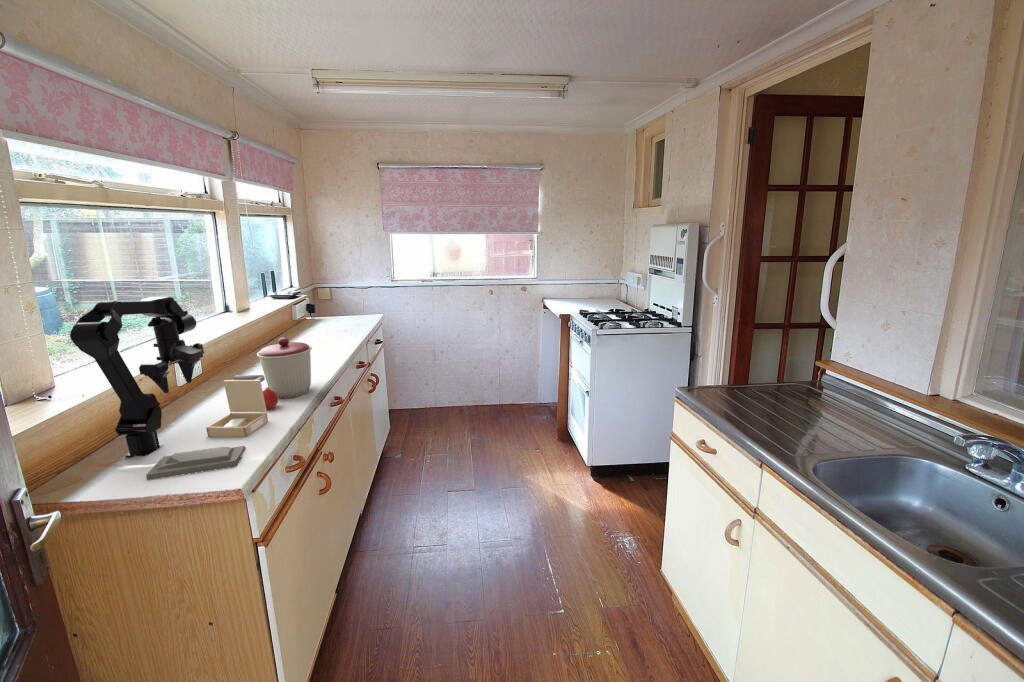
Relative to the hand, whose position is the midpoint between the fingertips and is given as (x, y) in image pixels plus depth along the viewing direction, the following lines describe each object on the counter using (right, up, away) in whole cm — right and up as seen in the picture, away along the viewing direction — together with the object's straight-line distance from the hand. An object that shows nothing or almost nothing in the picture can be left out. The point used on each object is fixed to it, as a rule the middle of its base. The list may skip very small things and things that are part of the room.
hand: (178, 387), depth 149 cm
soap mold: (+21, -19, -22) cm, 36 cm away
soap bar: (+19, -12, -2) cm, 23 cm away
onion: (+22, -9, +14) cm, 27 cm away
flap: (+20, -3, 0) cm, 20 cm away
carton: (+20, -13, -2) cm, 24 cm away
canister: (+22, -5, +29) cm, 37 cm away
